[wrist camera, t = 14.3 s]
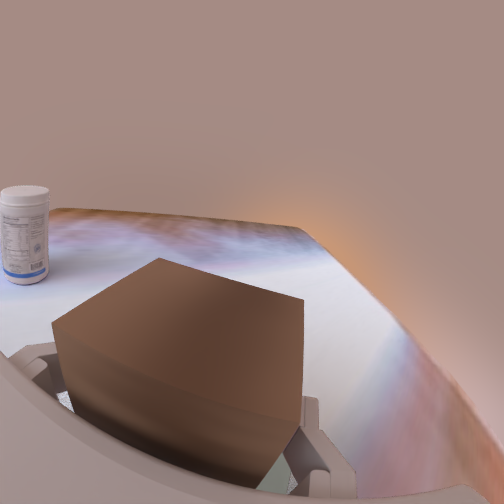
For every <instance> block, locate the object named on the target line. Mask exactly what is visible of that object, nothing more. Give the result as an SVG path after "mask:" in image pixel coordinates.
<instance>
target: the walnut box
mask: <svg viewBox="0 0 504 504" xmlns="http://www.w3.org/2000/svg"><path fill="white" fill-rule="evenodd" d="M52 329H53V335H54V340H55V345H56V349H57V354H58V358H59V362H60V366H61V370H62V374H63V378H64V381H65V385H66V388H67V391H68V395H69V398H70V401H71V404H72V407H73V410H74V412H75V414H77V415H78V416H80V417H81V418H83V419H84V420H86V421H87V422H89V423H91V424H92V425H94V426H95V427H97V428H99V429H100V430H102V431H104V432H106V433H107V434H109V435H111V436H113V437H114V438H116V439H118V440H120V441H122V442H124V443H126V444H128V445H130V446H132V447H134V448H136V449H138V450H140V451H142V452H144V453H146V454H148V455H151V456H153V457H155V458H157V459H160V460H162V461H165V462H167V463H170V464H172V465H175V466H177V467H180V468H183V469H185V470H188V471H191V472H194V473H197V474H200V475H203V476H206V477H209V478H213V479H216V480H219V481H223V482H227V483H231V484H235V485H239V486H243V487H247V488H252V489H256V488H257V487H258V485H259V484H260V483H261V481H262V480H263V479H264V477H265V476H266V474H267V473H268V472H269V470H270V469H271V467H272V466H273V465H274V463H275V462H276V460H277V459H278V457H279V456H280V454H281V453H282V451H283V450H284V448H285V447H286V445H287V444H288V442H289V441H290V439H291V437H292V436H293V434H294V433H295V431H296V429H297V428H298V426H299V424H300V421H301V404H302V382H303V349H304V300H303V299H299V298H295V297H291V296H288V295H284V294H280V293H277V292H273V291H269V290H266V289H262V288H259V287H255V286H252V285H248V284H245V283H241V282H238V281H234V280H231V279H227V278H224V277H220V276H217V275H214V274H210V273H207V272H204V271H200V270H197V269H194V268H190V267H187V266H184V265H181V264H177V263H174V262H171V261H168V260H165V259H162V258H158V259H156V260H154V261H152V262H151V263H149V264H147V265H145V266H144V267H142V268H140V269H138V270H137V271H135V272H133V273H132V274H130V275H128V276H126V277H125V278H123V279H121V280H120V281H118V282H116V283H115V284H113V285H111V286H110V287H108V288H106V289H105V290H103V291H101V292H100V293H98V294H96V295H95V296H93V297H92V298H90V299H88V300H87V301H85V302H83V303H82V304H80V305H79V306H77V307H75V308H74V309H72V310H71V311H69V312H68V313H66V314H64V315H63V316H61V317H60V318H58V319H57V320H55V321H54V322H52Z"/></svg>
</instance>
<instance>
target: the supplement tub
mask: <svg viewBox="0 0 504 504" xmlns="http://www.w3.org/2000/svg"><path fill="white" fill-rule="evenodd" d="M48 221H49V189H47V188H45V187H40V186H30V185H27V186H26V185H25V186H14V187H9V188H6V189H4V190H2V191H1V199H0V237H1V252H2V263H3V271H4V275H5V277H6V279H7V280H9V281H10V282H12V283H15V284H20V285H27V284H33V283H36V282H39V281H41V280H42V279H44V278H45V277H46V275H47V274H48V271H49V256H48Z"/></svg>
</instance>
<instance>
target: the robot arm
mask: <svg viewBox="0 0 504 504" xmlns="http://www.w3.org/2000/svg"><path fill="white" fill-rule="evenodd" d="M64 391H67V388H66V385H65V381H64V378H63V374H62V370H61V366H60V362H59V358H58V354H57V349H56V345H55V342H51V343H44V344H36V345H27V346H25V347H24V348H22V349H21V350H19V351H18V352H16V353H15V354H14V355H12V356H11V357H9V358H7V357H6V356H5V355H4V354H3V353H2V352H1V351H0V504H490V502H489V501H488V500H487V499H486V498H484V497H483V496H482V495H480V494H479V493H478V492H477V491H475V490H474V489H472V488H471V487H469V486H467V485H465V484H461V485H456V486H452V487H448V488H444V489H439V490H435V491H429V492H424V493H418V494H411V495H404V496H395V497H384V498H366V499H357V487H356V472H355V471H354V469H353V468H352V467H351V466H350V465H349V463H348V462H347V461H346V460H345V458H344V457H343V456H342V455H341V453H340V452H339V451H338V450H337V448H336V447H335V446H334V445H333V443H332V442H331V441H330V439H329V438H328V437H327V436H326V434H325V433H324V432H323V431H322V430H319V409H318V399H317V398H312V397H307V396H302V404H301V421H300V424H299V426H298V428H297V429H296V431H295V433H294V434H293V436H292V437H291V439H290V441H289V442H288V444H287V445H286V447H285V448H284V450H283V451H282V453H283V455H284V457H285V460H286V462H287V464H288V466H289V468H290V470H291V472H292V474H293V476H294V477H295V479H296V481H297V483H298V486H297V487H296V488H295V489H294V490H293V491H291V492H290V493H289V494H288V495H287V494H280V493H273V492H267V491H262V490H257V489H252V488H247V487H243V486H239V485H235V484H231V483H227V482H223V481H219V480H216V479H213V478H209V477H206V476H203V475H200V474H197V473H194V472H191V471H188V470H185V469H183V468H180V467H177V466H175V465H172V464H170V463H167V462H165V461H162V460H160V459H157V458H155V457H153V456H151V455H148V454H146V453H144V452H142V451H140V450H138V449H136V448H134V447H132V446H130V445H128V444H126V443H124V442H122V441H120V440H118V439H116V438H114V437H113V436H111V435H109V434H107V433H106V432H104V431H102V430H100V429H99V428H97V427H95V426H94V425H92V424H91V423H89V422H87V421H86V420H84V419H83V418H81V417H80V416H78V415H77V414H75V413H74V412H72V411H71V410H69V409H68V408H66V407H65V406H64V405H62V404H61V403H60V401H59V399H58V396H57V394H58V393H61V392H64Z"/></svg>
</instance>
